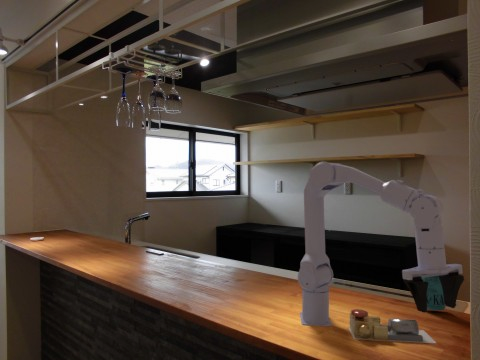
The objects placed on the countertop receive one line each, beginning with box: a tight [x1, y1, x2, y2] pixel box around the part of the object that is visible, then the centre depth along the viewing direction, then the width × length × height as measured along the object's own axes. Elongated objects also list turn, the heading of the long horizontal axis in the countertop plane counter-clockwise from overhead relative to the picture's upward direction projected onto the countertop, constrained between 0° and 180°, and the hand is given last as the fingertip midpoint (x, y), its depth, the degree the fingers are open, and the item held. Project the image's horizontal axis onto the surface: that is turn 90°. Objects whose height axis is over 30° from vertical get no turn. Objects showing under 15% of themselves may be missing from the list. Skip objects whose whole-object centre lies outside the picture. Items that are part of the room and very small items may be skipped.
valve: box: [349, 308, 389, 342], centre depth 92 cm, size 10×8×5 cm
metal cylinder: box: [387, 318, 420, 335], centre depth 91 cm, size 4×6×4 cm, turn 84°
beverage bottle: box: [421, 276, 447, 312], centre depth 110 cm, size 6×7×20 cm
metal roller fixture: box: [347, 323, 437, 344], centre depth 92 cm, size 8×19×2 cm, turn 84°
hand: (436, 309), depth 82 cm, fingers open, 7 cm apart
